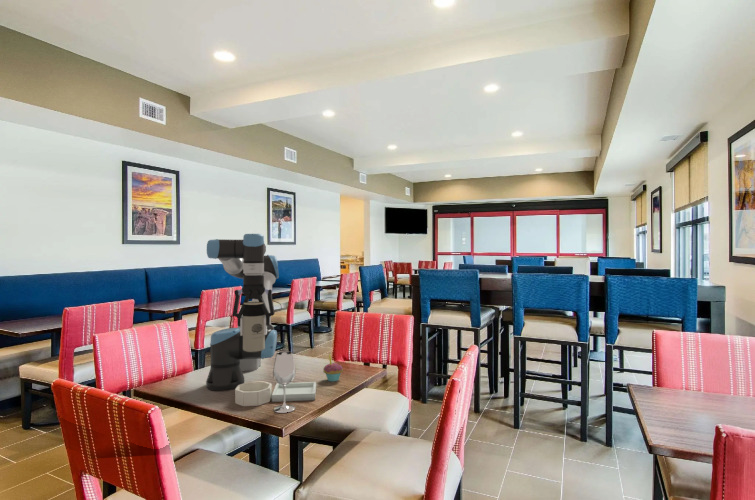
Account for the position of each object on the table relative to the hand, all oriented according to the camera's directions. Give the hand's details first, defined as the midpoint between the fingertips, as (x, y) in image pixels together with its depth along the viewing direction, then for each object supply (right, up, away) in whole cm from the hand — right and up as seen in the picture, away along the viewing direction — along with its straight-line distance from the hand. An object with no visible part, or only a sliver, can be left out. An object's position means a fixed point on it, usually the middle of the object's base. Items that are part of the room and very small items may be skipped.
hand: (253, 334), depth 157 cm
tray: (+14, -25, +5) cm, 29 cm away
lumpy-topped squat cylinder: (-17, -25, +43) cm, 52 cm away
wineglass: (+14, -25, -10) cm, 30 cm away
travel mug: (0, -6, 0) cm, 6 cm away
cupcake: (+27, -25, +24) cm, 44 cm away
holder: (0, -25, 0) cm, 25 cm away
